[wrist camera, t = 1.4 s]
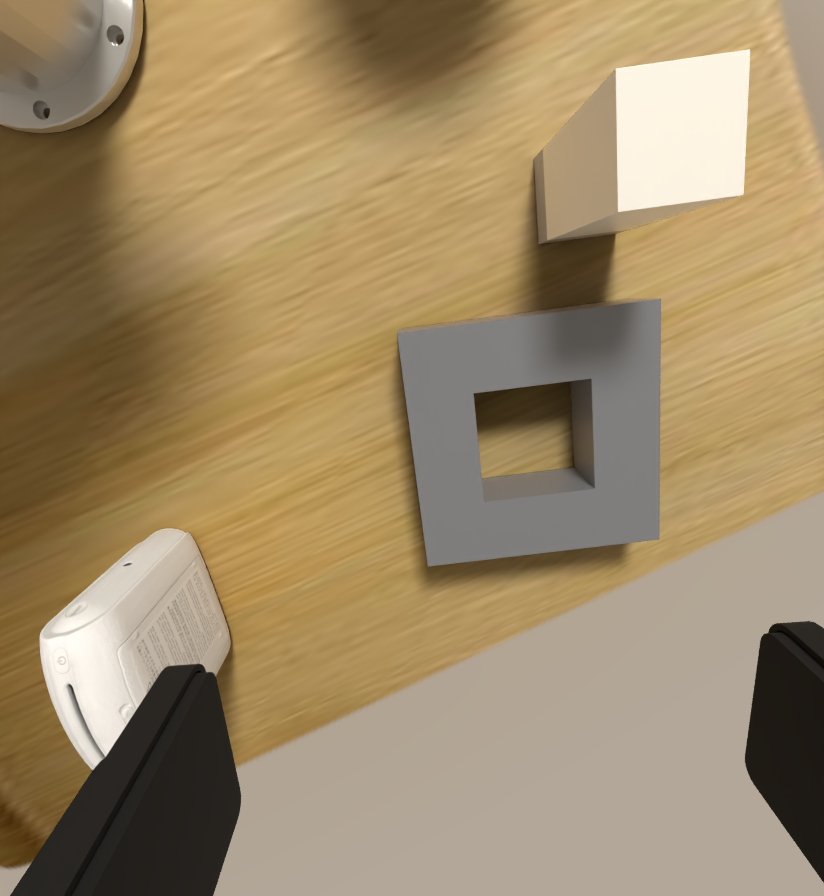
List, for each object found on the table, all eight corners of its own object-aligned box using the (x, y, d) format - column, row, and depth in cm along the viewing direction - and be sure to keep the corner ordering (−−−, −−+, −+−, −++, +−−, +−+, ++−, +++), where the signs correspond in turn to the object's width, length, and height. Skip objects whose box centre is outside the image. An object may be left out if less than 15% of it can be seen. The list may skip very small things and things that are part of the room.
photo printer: (132, 532, 35) (-7, 652, 24) (193, 519, 35) (83, 633, 23) (185, 657, 38) (84, 820, 26) (241, 646, 38) (165, 805, 26)
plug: (533, 158, 29) (615, 68, 18) (614, 147, 29) (750, 49, 18) (538, 244, 30) (618, 212, 19) (616, 233, 30) (743, 195, 19)
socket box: (398, 328, 32) (397, 333, 28) (629, 298, 31) (660, 299, 27) (425, 537, 36) (427, 566, 32) (631, 512, 35) (659, 539, 31)
